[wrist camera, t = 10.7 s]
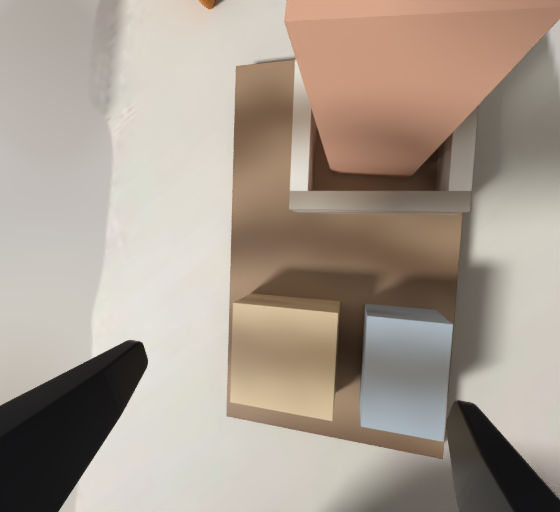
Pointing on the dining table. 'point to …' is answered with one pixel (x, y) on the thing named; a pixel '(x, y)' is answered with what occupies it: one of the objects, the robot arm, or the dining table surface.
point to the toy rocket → (208, 3)
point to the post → (404, 71)
